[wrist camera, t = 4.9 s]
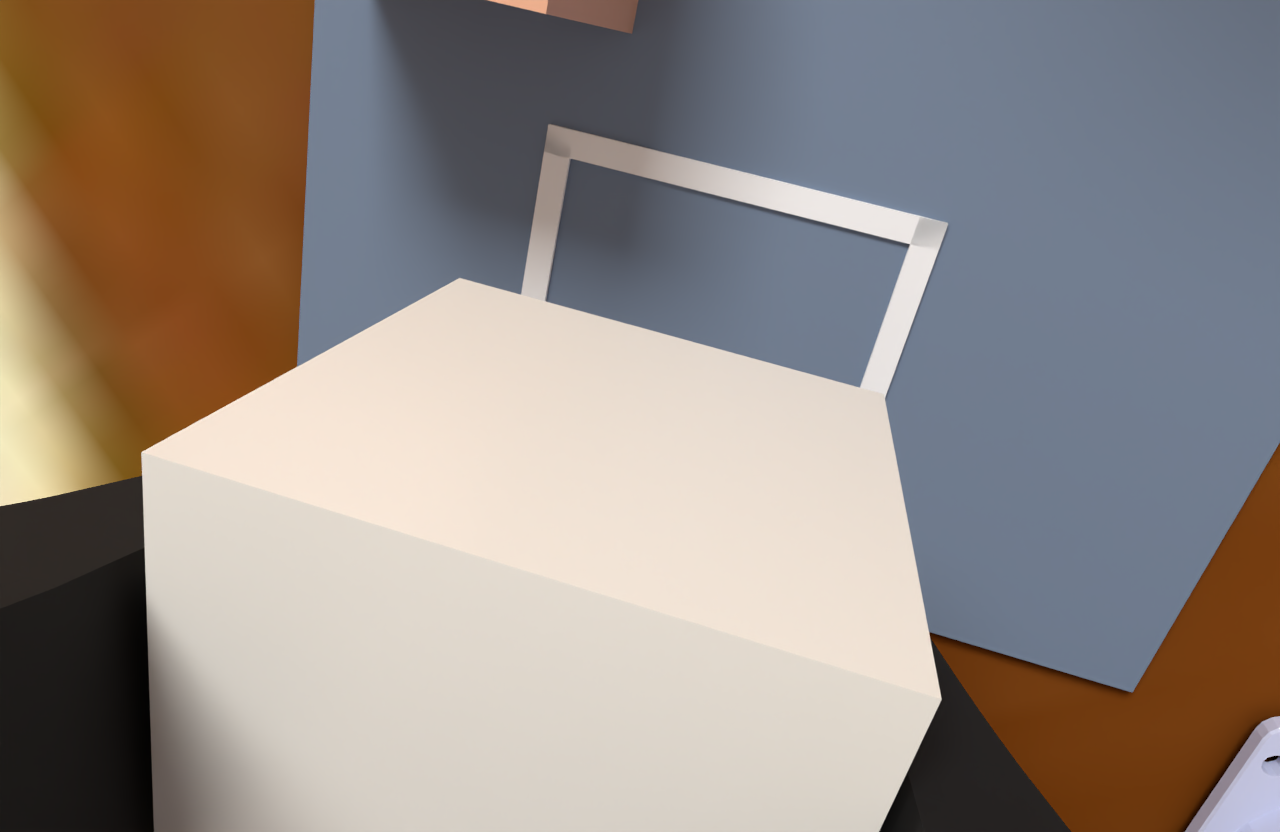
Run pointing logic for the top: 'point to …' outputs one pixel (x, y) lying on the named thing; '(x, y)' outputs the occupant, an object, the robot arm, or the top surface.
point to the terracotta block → (585, 11)
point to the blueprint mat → (871, 248)
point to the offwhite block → (532, 589)
